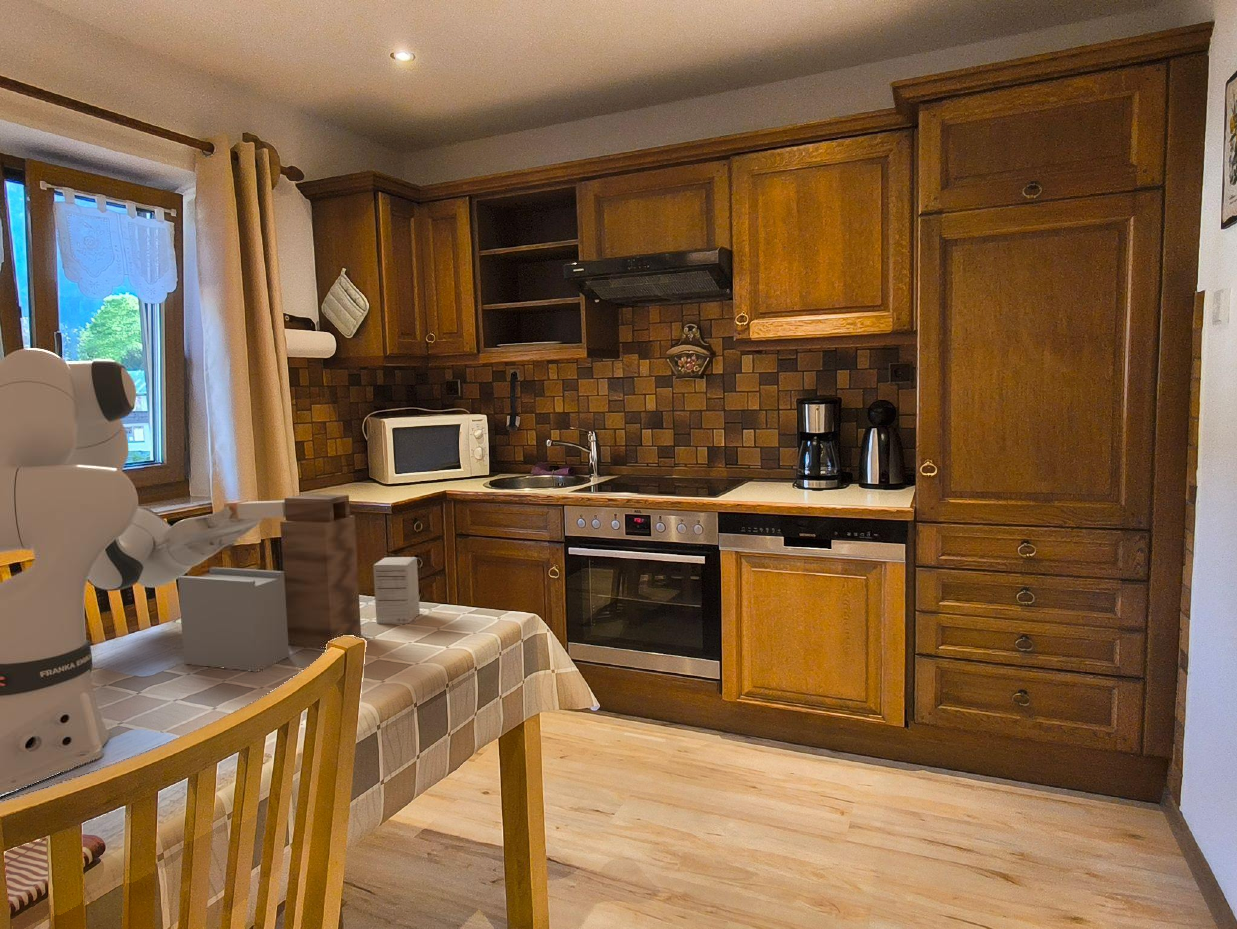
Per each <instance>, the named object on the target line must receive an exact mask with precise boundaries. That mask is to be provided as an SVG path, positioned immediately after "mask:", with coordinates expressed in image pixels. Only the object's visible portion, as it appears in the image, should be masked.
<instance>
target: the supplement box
mask: <svg viewBox="0 0 1237 929" xmlns="http://www.w3.org/2000/svg"><path fill="white" fill-rule="evenodd" d="M372 565H373V568H372V569H373V581H374V582H373V583H374V584H373V585H374V601H375V616H376V617H375V618H376V620H375V621H376V623H377V624H411V622H412V621H413V620H414V619H415V618H416V617H417V616H418V615H419V614H420V595H419V594H420V592H419V578H418V577H419V576H418V573H419V572H418V558H417V557H415V556H398V557H397V556H396V557H395V556H393V557H392V556H391V557H383V558H382V559H381V560H379V561H377V562H376V563H374V564H372Z"/></svg>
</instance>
